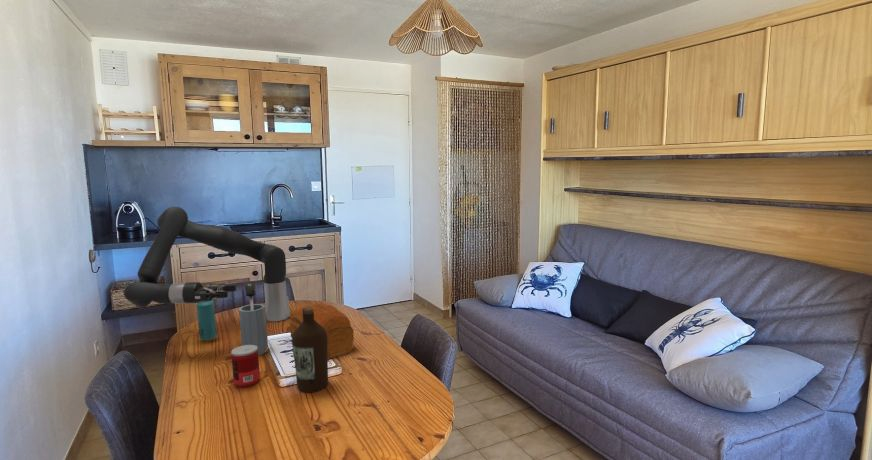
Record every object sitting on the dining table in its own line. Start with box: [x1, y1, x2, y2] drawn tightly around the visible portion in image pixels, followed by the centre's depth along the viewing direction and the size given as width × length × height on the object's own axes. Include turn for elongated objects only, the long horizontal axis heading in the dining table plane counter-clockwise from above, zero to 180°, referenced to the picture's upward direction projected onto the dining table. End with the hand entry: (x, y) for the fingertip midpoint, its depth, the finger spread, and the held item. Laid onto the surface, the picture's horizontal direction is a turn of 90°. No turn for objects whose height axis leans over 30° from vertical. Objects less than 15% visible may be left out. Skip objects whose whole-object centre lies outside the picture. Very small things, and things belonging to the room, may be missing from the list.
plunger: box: [244, 282, 257, 311], centre depth 175 cm, size 6×6×24 cm
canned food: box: [230, 345, 261, 388], centre depth 152 cm, size 8×8×11 cm
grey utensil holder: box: [238, 303, 269, 357], centre depth 177 cm, size 10×10×17 cm
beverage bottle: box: [195, 300, 218, 341], centre depth 188 cm, size 6×7×20 cm
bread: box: [289, 302, 355, 359], centre depth 180 cm, size 16×27×16 cm, turn 39°
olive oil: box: [291, 307, 329, 393], centre depth 147 cm, size 11×11×25 cm
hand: (231, 291), depth 173 cm, fingers open, 8 cm apart
